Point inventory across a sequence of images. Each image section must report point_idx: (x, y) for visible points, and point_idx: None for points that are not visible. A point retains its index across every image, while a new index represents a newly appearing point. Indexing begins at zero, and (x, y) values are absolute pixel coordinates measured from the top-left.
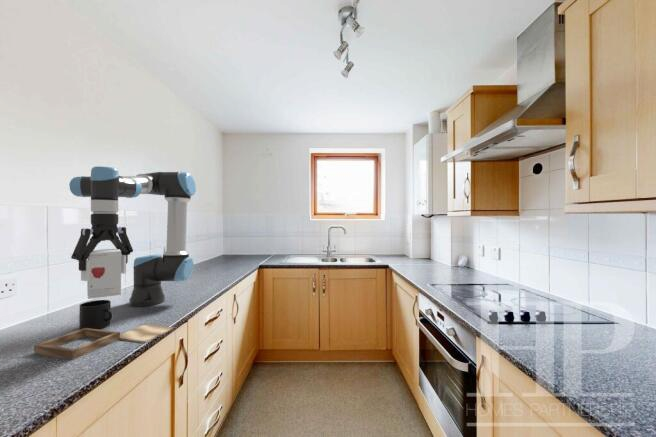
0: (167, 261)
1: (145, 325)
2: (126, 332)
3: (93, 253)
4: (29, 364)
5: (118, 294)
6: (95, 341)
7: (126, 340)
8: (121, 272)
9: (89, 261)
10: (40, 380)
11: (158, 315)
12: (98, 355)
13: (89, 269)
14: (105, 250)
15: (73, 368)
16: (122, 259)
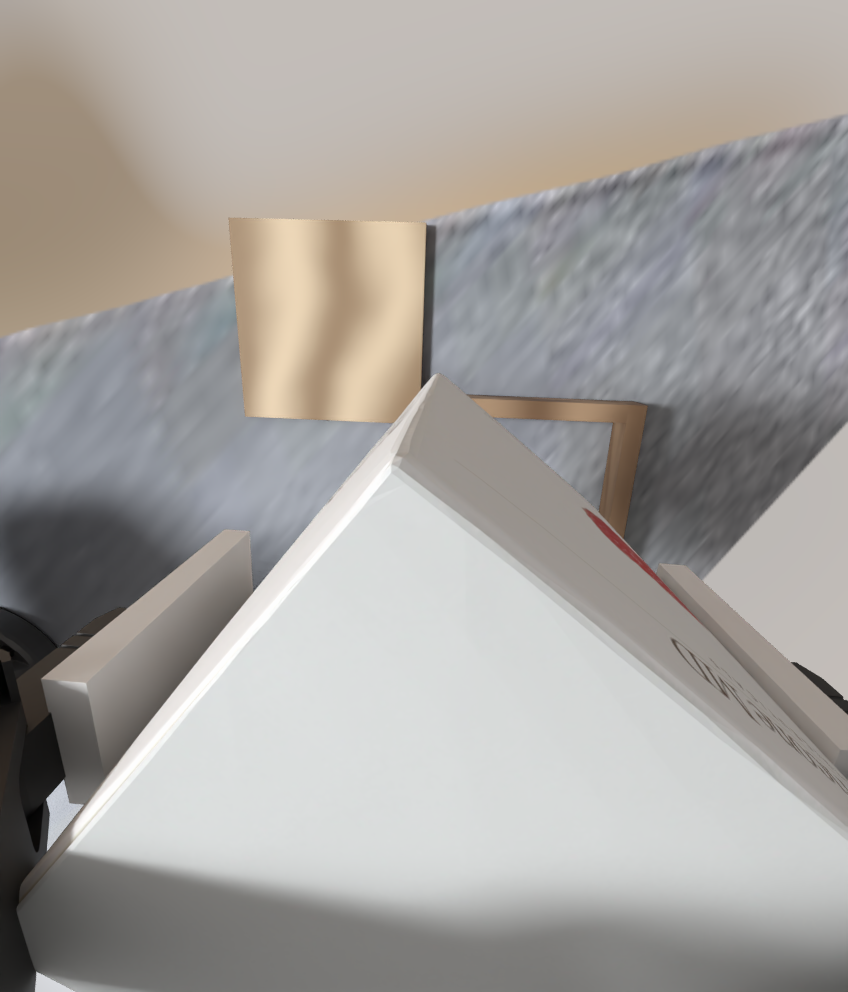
0: None
1: (258, 402)
2: (358, 418)
3: None
4: (682, 520)
5: (452, 383)
6: (537, 408)
7: (422, 349)
8: (246, 575)
9: (825, 732)
10: (801, 349)
11: (112, 470)
12: (583, 331)
13: (735, 637)
14: (500, 923)
15: (704, 320)
16: (148, 665)
